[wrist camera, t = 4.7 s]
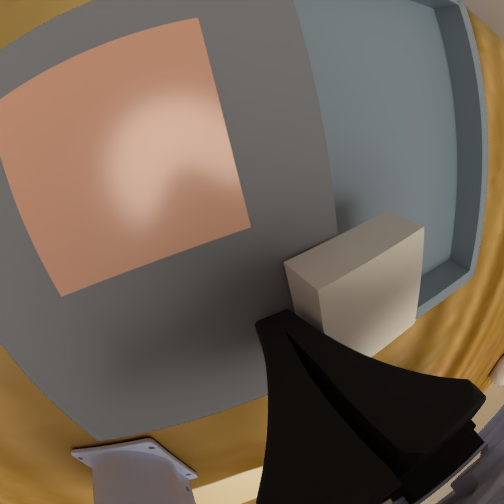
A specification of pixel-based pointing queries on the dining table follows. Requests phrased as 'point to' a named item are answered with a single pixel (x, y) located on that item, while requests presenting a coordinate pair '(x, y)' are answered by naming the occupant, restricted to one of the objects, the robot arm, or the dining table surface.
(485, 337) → the dining table surface
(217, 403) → the plate
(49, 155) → the terracotta tile
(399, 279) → the cream tile
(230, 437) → the dining table surface
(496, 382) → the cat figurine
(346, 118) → the tray
